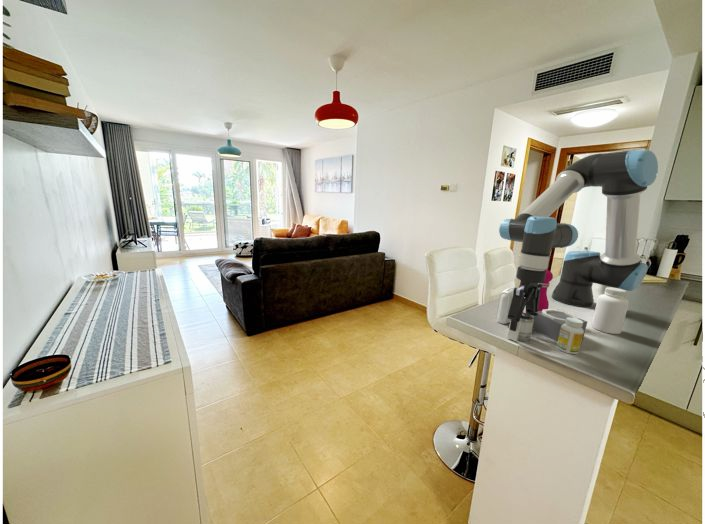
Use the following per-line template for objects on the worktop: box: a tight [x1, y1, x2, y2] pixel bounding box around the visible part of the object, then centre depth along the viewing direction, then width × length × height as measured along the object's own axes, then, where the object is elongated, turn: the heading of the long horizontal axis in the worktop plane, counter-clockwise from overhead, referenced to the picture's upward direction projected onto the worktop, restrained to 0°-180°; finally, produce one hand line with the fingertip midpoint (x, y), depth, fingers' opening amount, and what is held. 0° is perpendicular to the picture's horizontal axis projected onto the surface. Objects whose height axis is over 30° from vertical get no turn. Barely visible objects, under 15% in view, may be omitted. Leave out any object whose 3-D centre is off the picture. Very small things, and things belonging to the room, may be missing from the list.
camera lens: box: [510, 311, 534, 342], centre depth 90 cm, size 6×6×8 cm
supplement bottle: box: [556, 317, 585, 355], centre depth 83 cm, size 5×5×10 cm
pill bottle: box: [591, 286, 629, 335], centre depth 98 cm, size 8×8×15 cm
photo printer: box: [495, 287, 515, 325], centre depth 102 cm, size 10×4×12 cm, turn 123°
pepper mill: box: [538, 267, 554, 311], centre depth 108 cm, size 7×7×20 cm
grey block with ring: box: [532, 308, 588, 342], centre depth 94 cm, size 11×10×7 cm
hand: (518, 336), depth 91 cm, fingers open, 8 cm apart
